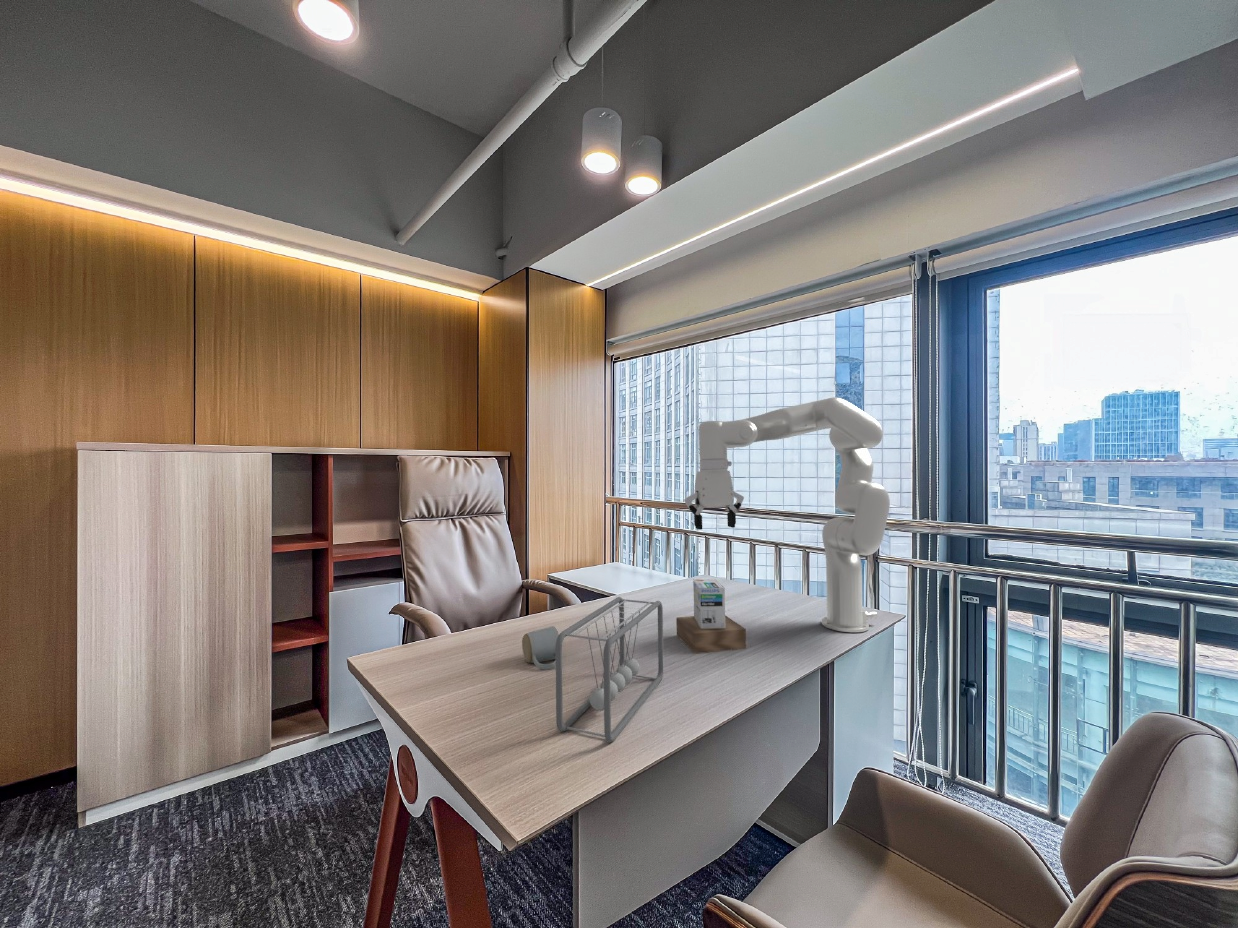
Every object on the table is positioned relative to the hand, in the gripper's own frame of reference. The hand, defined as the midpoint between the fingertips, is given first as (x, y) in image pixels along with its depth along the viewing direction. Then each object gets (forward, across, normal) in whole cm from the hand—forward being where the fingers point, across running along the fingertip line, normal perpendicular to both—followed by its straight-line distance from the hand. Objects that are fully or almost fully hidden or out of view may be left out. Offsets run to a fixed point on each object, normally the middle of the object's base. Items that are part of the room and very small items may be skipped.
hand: (715, 527), depth 137 cm
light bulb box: (+25, +4, +2) cm, 26 cm away
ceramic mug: (+30, +48, +4) cm, 57 cm away
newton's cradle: (+30, +36, +30) cm, 55 cm away
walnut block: (+30, +4, +2) cm, 30 cm away
